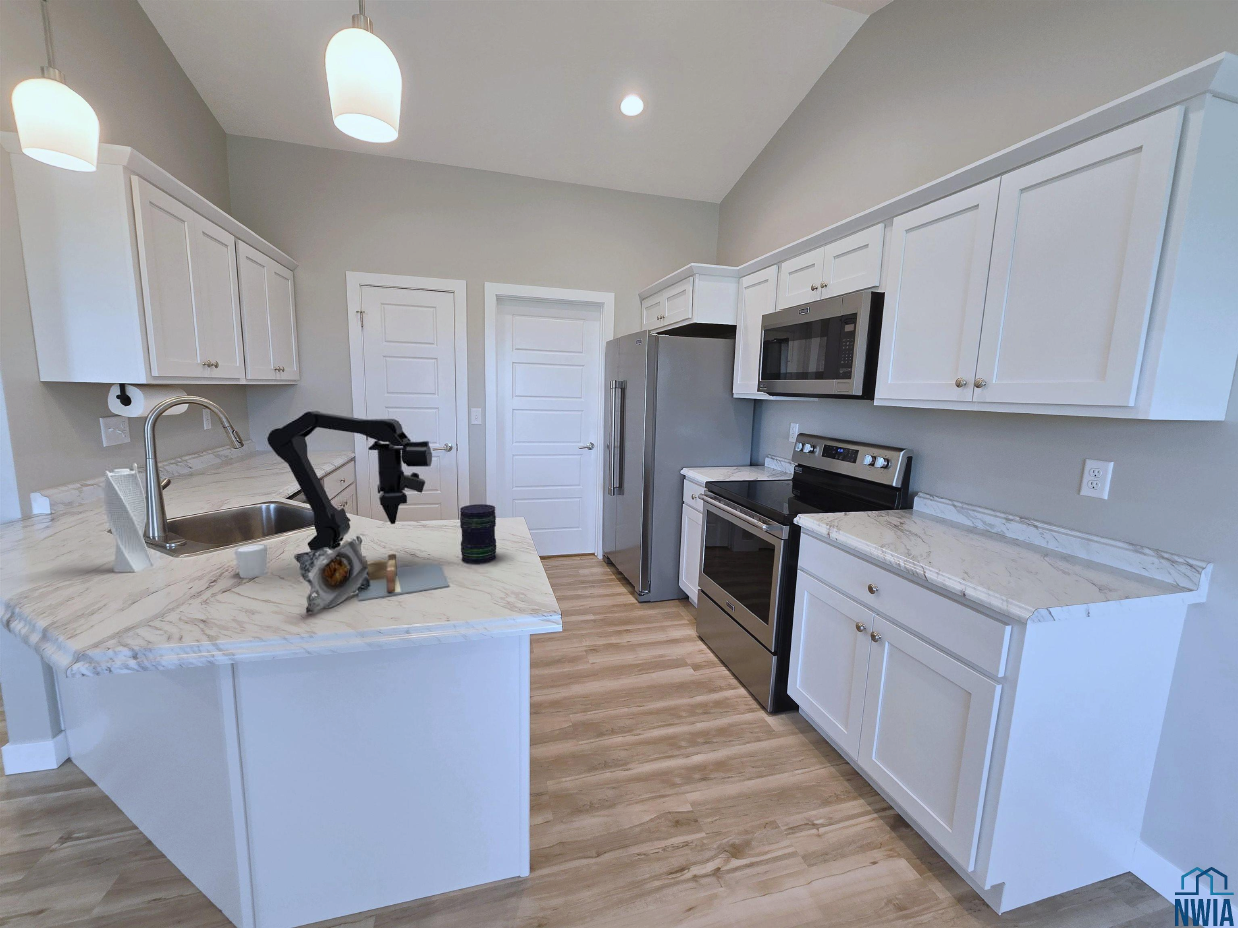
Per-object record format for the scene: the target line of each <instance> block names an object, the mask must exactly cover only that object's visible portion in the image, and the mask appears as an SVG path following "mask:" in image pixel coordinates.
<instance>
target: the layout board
mask: <svg viewBox="0 0 1238 928" xmlns="http://www.w3.org/2000/svg"><path fill="white" fill-rule="evenodd" d="M361 587H363V586H361ZM438 588H440V589H444V588H445V589H446V588H451V585H450V584H449V581H448V579H447V577H446V575H445V572H444V571H443V568H442V566H441V565H440V563H439V562H433V563H428V564H427V563H425V564H419V565H411V566H405V567H404V566H403V567H397V576H396V582H395V591H394V592H387V582H386V579H379V580H372V581H370V587H368V588H366V587H364V589H360V590H357V594H358V602H363V601H371V600H375V599H382V598H389V597H394V596H401V595H402V596H403V595H407V594H413V593H414V592H415V593H420V591H421V592H425V591H424V590H427V591H432V589H434V590H439V589H438Z"/></svg>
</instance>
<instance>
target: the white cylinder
mask: <svg viewBox="0 0 1238 928" xmlns="http://www.w3.org/2000/svg"><path fill="white" fill-rule="evenodd" d="M234 555H235V560H236V565H237V568H238V569H237V570H238V573H239V578H242V579H243V578H244V579H250V578H251V579H252V578H257V577H261V576H263V575H265V574H267V569H268V545H266V544H259V543H258V544H248V545H244V546H241V547H237V548H236V549H234Z"/></svg>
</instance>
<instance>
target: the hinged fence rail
mask: <svg viewBox="0 0 1238 928" xmlns="http://www.w3.org/2000/svg"><path fill="white" fill-rule="evenodd" d="M387 557H388V559H387V560H388V563H387V571H386V582H387V592H394V591H395V582H396V576H397V568H398V567H397V554H395V553H391V554H389V555H387Z"/></svg>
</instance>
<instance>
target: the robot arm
mask: <svg viewBox="0 0 1238 928" xmlns="http://www.w3.org/2000/svg"><path fill="white" fill-rule="evenodd" d="M317 428H319V429H325V430H333V431H338V432H345V433H353V434H359V435H363V436H364V437H366V438H369V439H371V440H374V441H373V443H372V444H371V445H370V446H369V447H368V450H369V451H377V452H376V453H377V466H378V467H377V473H378V484H377V485H376V486H377V494H378V495H379V497H378V501H379V505H380V506H381V507H382V510H383V511H384V513H385V515H386V517H387V519H388V521H389V523H390V525H395V524H396V521H397V517H398V516H397V515H398V512H399V507H400V505H401V504H402V505H403V504H407V503H408V495H407V493H406V492H404V491H406V489H407V490H411V491H416V492H417V493H420V494H422V493H423V491H424V487H425V485H426V480H425V479H424V478H420V475H419V473H417V472H411V473H410V475H409V474H405V471H404V470H403V464H404V465H406V466H407V467H409V468H410V467H414V468H415V467H416V468H417V467H419V468H420V467H421V468H422V467H426V468H429V467H431V465H432V463H433V452H432V449H431V446H430V441H429V440H423V441H412V440H411V439H410V438H409V437H408V435H407V434H406V433H405V432H404V430H403V426H402V424H401V423H400V421H399V420H397V419H395V418H373V419H372V418H371V419H370V418H367V419H365V418H359V417H354V416H347V415H345V416H344V415H339V414H333V413H326V412H321V411H319V410H311V411H306V412H304V413H303V414H302V415H300V416H299V417H297V418H296V419H294V420H291V422H288V423H286V424H285V425H284V426H282V427H278V428H277V427H276V428H273V429H272V430H271V431H270V432H269V433H268V436H267V438H266V439H267V444H268V446H269V447H270V448H271V449H272V451H273V452H274V453H275V455H277V457H278V458H279V459H281V460H282V461H284V462H285V463H286V464H287V465H288V467H289V469H290V472H291V473H292V475H293V477H294V479H295V480H296V482H297V484H298V486H299V488H300V491H301V492H302V494H303V496H304V498H305V500H306V502H307V504H308V506H309V507H310V510H311V511H312V513H313V526H314V529H315V533H316V534H315V535H314V536H313V537H312V538H311V539H310V540H309V541H308V542H307V546H308V548H309V550H310V551H313V550H314V551H316V550H319V549H322V548H331V549H336V548H337V547H339V546H341V545H342V544H341V542H343V541H344V538H345V536H346V535H347V534H349V531H350V529H351V523H350V522H351V518H349V517H348V515H347V513H346V510H345V508H343V507H342V508H340V509H338V508H336V506H334V505H333V503H332V501H331V499H330V498H329V496H328V494H327V492H326V490H325V488H324V486H323V484H322V482H321V481H320V478H319V477H318V474H317V472H316V470H315V469H314V467H313V465H312V463H311V461H310V459H309V456H308V444H307V441H306V440H307V439H306V438H307V437H308V436H310V435H311V434H312V433H313V432H315V430H316V429H317Z"/></svg>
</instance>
